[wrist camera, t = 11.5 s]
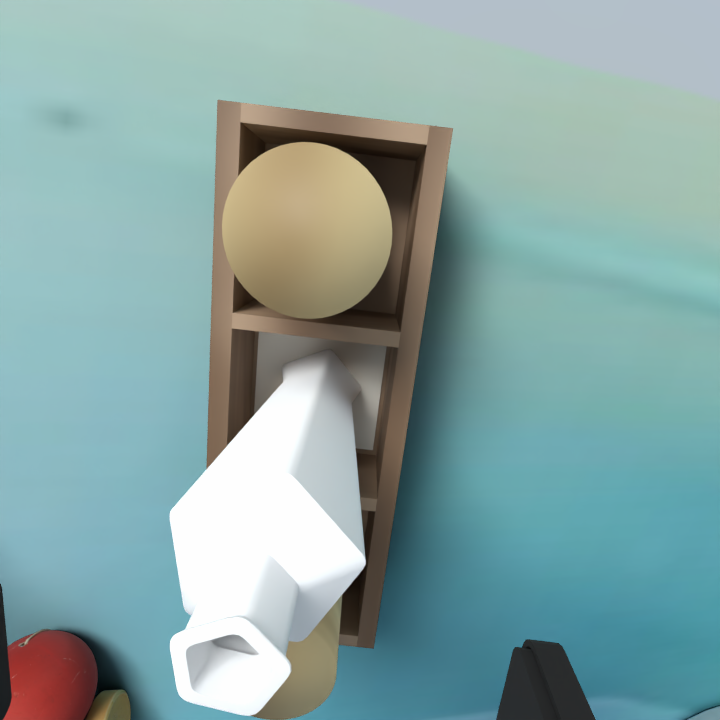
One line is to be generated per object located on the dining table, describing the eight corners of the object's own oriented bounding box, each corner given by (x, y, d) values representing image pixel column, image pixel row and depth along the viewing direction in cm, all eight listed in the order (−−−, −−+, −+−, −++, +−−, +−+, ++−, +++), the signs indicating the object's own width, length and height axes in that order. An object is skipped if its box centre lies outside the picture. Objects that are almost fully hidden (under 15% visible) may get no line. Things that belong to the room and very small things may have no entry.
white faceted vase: (369, 431, 23) (366, 766, 9) (280, 433, 23) (135, 765, 9) (367, 341, 22) (360, 557, 8) (273, 343, 22) (91, 559, 8)
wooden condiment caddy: (433, 151, 21) (488, 84, 11) (373, 573, 27) (374, 766, 17) (252, 129, 21) (151, 43, 11) (232, 557, 27) (154, 743, 17)
